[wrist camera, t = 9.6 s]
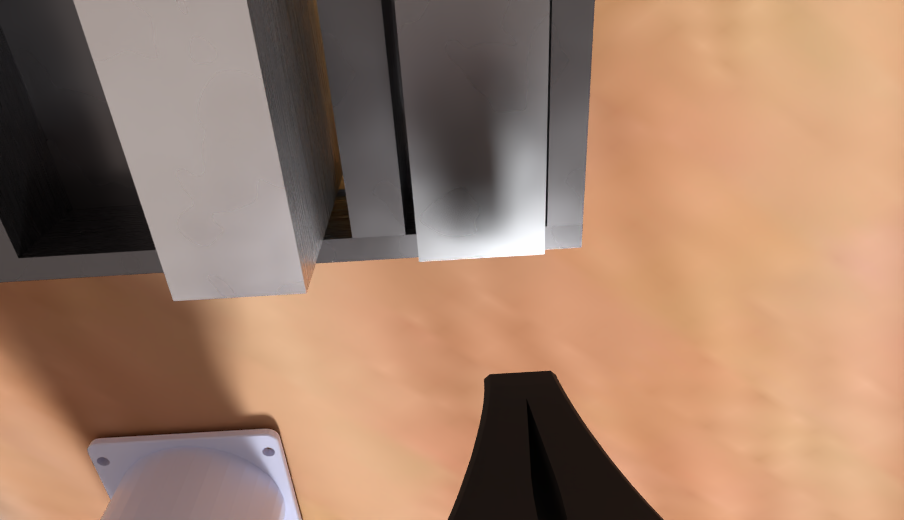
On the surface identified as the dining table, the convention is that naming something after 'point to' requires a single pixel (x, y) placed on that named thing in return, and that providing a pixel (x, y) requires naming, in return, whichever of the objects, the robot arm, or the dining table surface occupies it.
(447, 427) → the dining table surface
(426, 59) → the rack
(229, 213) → the block
